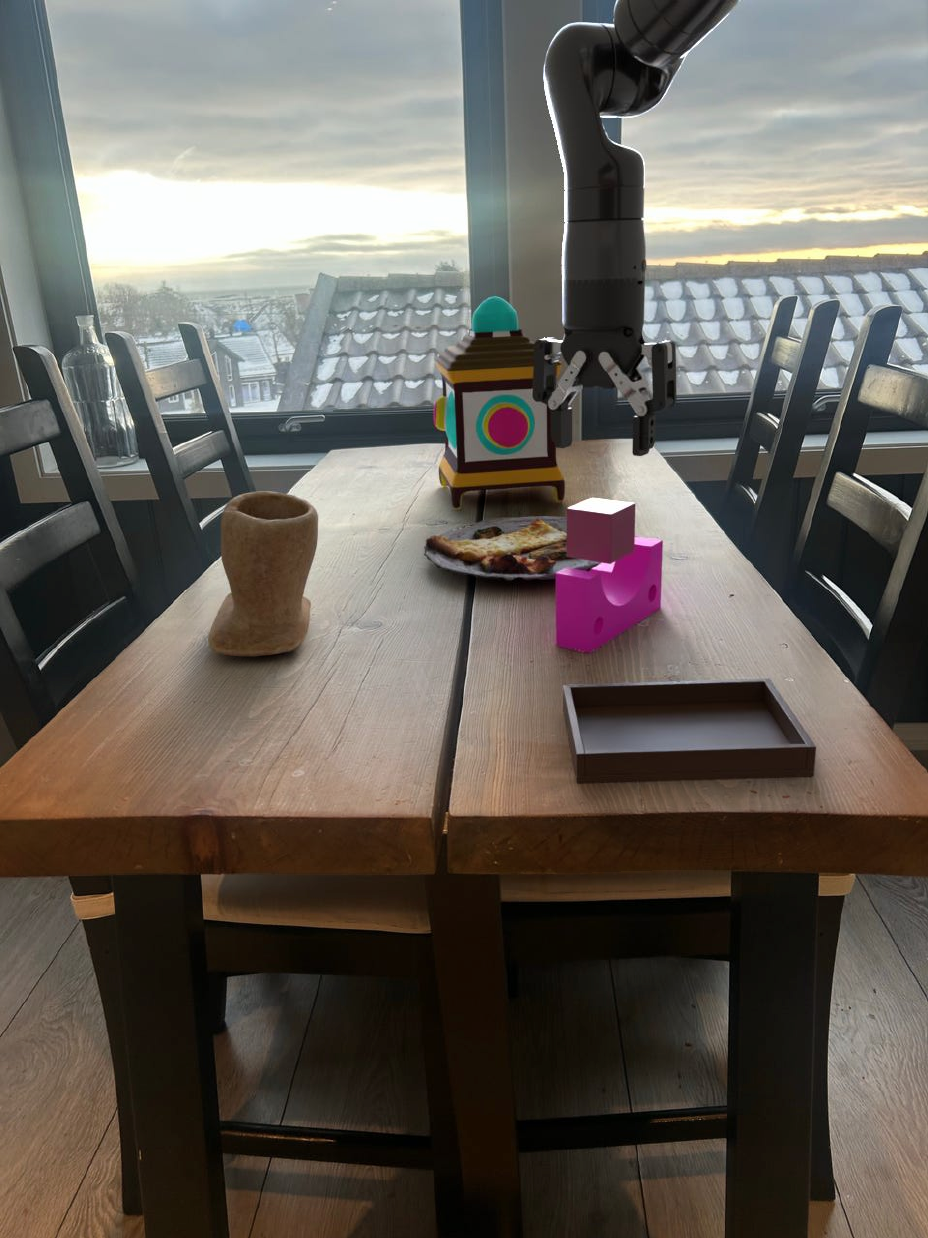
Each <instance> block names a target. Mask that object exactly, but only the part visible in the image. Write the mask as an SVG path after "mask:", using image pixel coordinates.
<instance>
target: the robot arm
mask: <svg viewBox="0 0 928 1238" xmlns="http://www.w3.org/2000/svg"><path fill="white" fill-rule="evenodd" d="M740 1H741V0H616V1H615V4H614V8H613V23H601V22H599V23H597V22H583V21H581V22H580V21H579V22H572V23H568V24H566V25H565V26H563V27H561V28H560V29H559V30H558V31H557V33H556V34H555V35H554V37H553V38H552V40H551V42H550V44H549V46H548V49H547V52H546V55H545V59H544V65H543V82H544V83H543V84H544V92H545V96H546V101H547V106H548V110H549V114H550V117H551V120H552V124H553V128H554V132H555V137H556V140H557V145H558V151H559V154H560V159H561V163H562V167H563V172H564V190H565V191H564V222H565V223H564V231H563V232H564V233H563V241H562V251H561V254H562V256H561V265H562V266H561V275H562V277H561V278H562V279H561V282H562V283H561V285H562V286H561V287H562V288H561V289H562V291H561V293H562V294H561V296H562V297H561V299H562V300H561V301H562V307H561V309H562V313H561V314H562V315H561V317H562V318H561V319H562V327H563V330H564V335H563V338H562V340H558V339H557V338H556V337H551V336H550V337H547V338H545V337H544V338H541V339H540V338H539V339H536V341H535V342H534V343H535V344H534V367H533V393H532V396H533V399H534V400H535V401H536V402H542V403H544V404H546V405H548V406H549V408H550V411H551V438H552V441H554V442H555V447H556V449H565V448H569V447H571V446H572V444H573V407H570V405H571V403H572V402H573V401H574V400H575V398H576V396H577V395H578V393H579V392H580V391H582V390H583V388H587V389H588V388H593V387H599V388H602V389H605V390H606V389H608V390H613V389H616V388H617V390H618V391H619V393H620V395H621V396H622V397H624V398H625V399H627V401H628V403H629V404H630V406H631V408H632V409H633V411H634V412H635V413H636V414H635V415H634V416H633V417H632V449H631V450H632V455H633V456H635V457H643V456H645V455H646V456H647V455H648V454H649V452H650V450H651V449H653V448H654V445H655V442H656V417H657V414H658V413H659V412H660V411H663V410H665V409H668V408H672V407H674V406H675V405H676V404H677V402H678V400H677V399H678V398H677V396H678V395H677V347H676V343H675V342H674V341H673V340H670V339H669V340H664V341H658V342H648V343H646V341H645V339H644V336H643V328H644V323H645V299H646V297H645V295H646V294H645V293H646V271H647V259H646V257H647V256H646V255H647V254H646V253H647V251H646V249H647V248H646V247H647V246H646V234H645V224H644V223H645V222H644V221H645V220H644V218H645V217H644V213H645V182H646V181H645V179H646V174H645V171H646V170H645V161H644V158H643V155H642V154H641V153H640V152H639V151H637V150H636V149H634V148H631V147H628V146H625V145H621V144H618V143H616V142H614V141H612V140H611V139H610V138H609V136H608V133H607V132H606V129H605V127H604V124H603V121H602V118H634V117H638V116H641V115H643V114H645V113H647V112H649V111H650V110H652V109H654V108H655V107H656V106H658V104H659V103H661V101H662V100H663V99H664V97H665V96H666V94H667V92H668V90H669V88H670V86H671V85H672V83H673V81H674V79H675V77H676V75H677V73H678V72H679V70H680V69H681V66H682V65H683V63H684V61H685V59H686V57H687V56H688V53H689V52H690V51H692V49H693V48H695V47H696V46H697V45H698V44H700V42H701V41H702V40H703V39H705V38H706V37H707V36H708V35H709V34H710V33H711V32H712V31H713V30H714V29H715V28H716V27H717V26H718V25H719V24H720V23H722V22H723V21H724V20H725V18H726V17H727V16H728V15H729V14H731V12H732V11H733V10H734V9H735V8H736V6H737V5H738V4H739V2H740ZM561 357H562V358H563V360H564V361H565V363H566V365H567V368H566V369H565V371H564V372H563V373H562V375H561V377H560V379H559V380H558V381H557V380H556V376H557V361H560V360H561ZM644 358H646V360H647V364H648V366H649V367H651V382H652V383H651V385H652V391H651V389H650V386H649V382H648V379H647V378H646V377H645V375H644V374H643V372H642V370H641V369H640V367H639V365H640V364H641V363H642V361H643V359H644Z"/></svg>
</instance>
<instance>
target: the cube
mask: <svg viewBox="0 0 928 1238" xmlns="http://www.w3.org/2000/svg"><path fill="white" fill-rule="evenodd" d="M566 518H567V557H572V558H578V559H584V560H590V561H596V562H602V563H608V564H611V563H613V562H615V561H617V560H619V559H621V558H623V557H624V556H626V555H628V554H630V553H632V552H634V550H635V536H636V503H635V502H629V501H620V500H612V499H605V498H598V497H597V498H596V497H590V498H588V499H585V500H583V501H580V502H578V503H575V504H574V505H570V506H568V507H567V508H566Z"/></svg>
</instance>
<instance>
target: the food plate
mask: <svg viewBox="0 0 928 1238" xmlns="http://www.w3.org/2000/svg"><path fill="white" fill-rule="evenodd" d="M423 550H424V553H423V556H424V557H426V559H427V560H428V561H429V562H431V564H433V565H434V566H435V567H436V568H437V569H441V570H442V571H446V572H449V573H454V574H461V575H462V574H463V575H468V576H473V577H476V578H479V579H487V578H488V579H489V580H492V579H494V580H497V579H498V583H501V582H502V581H501V578H503V581H507V582H511V581H514V579H517V578H522V580H523V581H531V580H535V579H538V580H542V581H543V580H556V573H557V572H559V571H561V570H563V569H565V568H573V569H578V570H584V571H588V570H590V569H591V568H593V567H595V566H597V565H599V564H601V563H602V562H596V561H590V560H584V559H578V558H572V557H567V517H564V516H562V517H561V516H547V515H546V516H539V515H538V516H524V517H523V516H522V517H505V516H504V517H496V518H495V517H494V518H490V519H485V520H480V521H477V522H473V523H469V524H466V525H462V526H459V527H456V528H452V529H449V530H446V531H443V532H442V533H440V534H438V535H432V536H430V537H429V538H428V537H427V538H426V540H425V545H424V547H423Z"/></svg>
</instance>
